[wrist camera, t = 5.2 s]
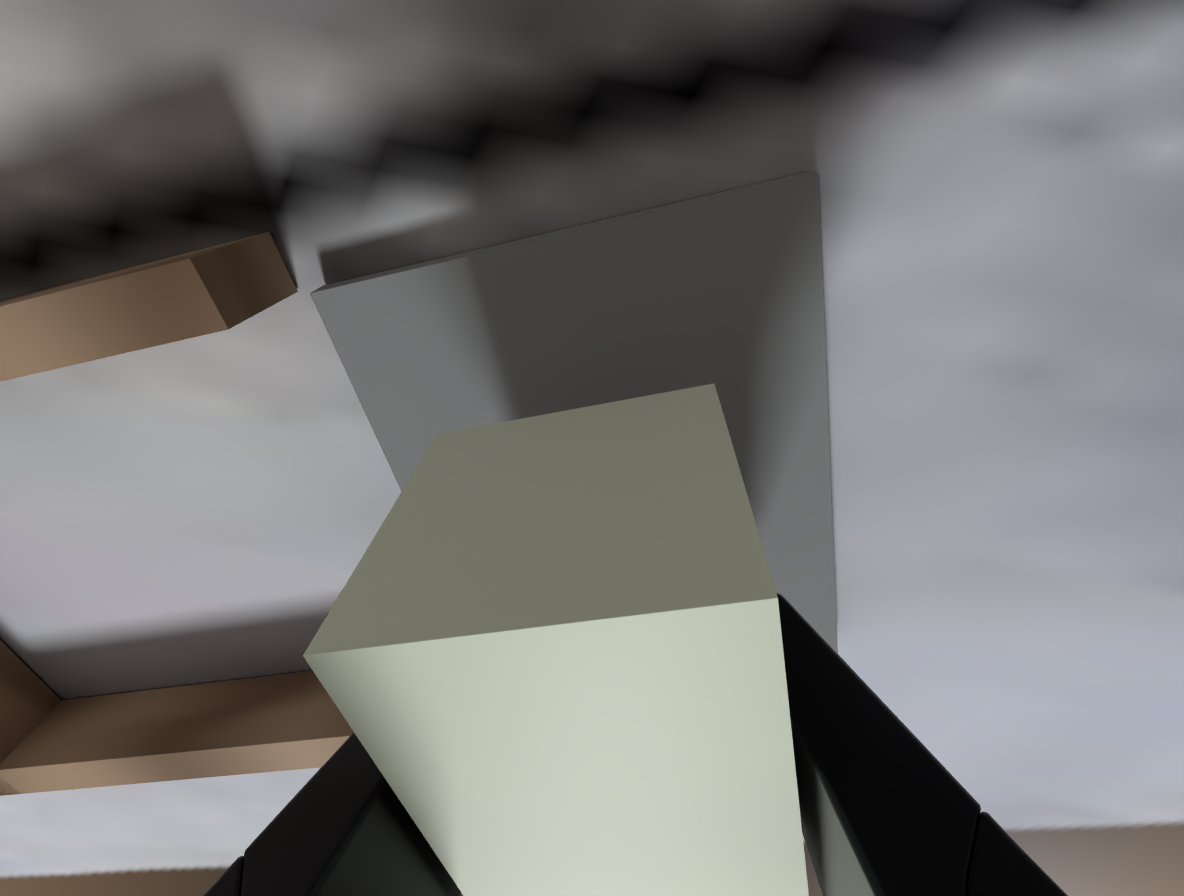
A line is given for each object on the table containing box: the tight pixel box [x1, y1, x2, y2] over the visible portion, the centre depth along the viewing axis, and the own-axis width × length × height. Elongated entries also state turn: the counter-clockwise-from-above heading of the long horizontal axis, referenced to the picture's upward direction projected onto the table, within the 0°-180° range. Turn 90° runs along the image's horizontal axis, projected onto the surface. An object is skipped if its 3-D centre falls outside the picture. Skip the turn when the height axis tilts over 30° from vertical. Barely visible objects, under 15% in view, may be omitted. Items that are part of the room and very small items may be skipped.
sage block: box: [303, 383, 809, 896], centre depth 8 cm, size 4×6×4 cm, turn 13°
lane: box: [0, 232, 354, 796], centre depth 12 cm, size 13×11×2 cm
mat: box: [310, 171, 838, 654], centre depth 12 cm, size 8×10×1 cm
